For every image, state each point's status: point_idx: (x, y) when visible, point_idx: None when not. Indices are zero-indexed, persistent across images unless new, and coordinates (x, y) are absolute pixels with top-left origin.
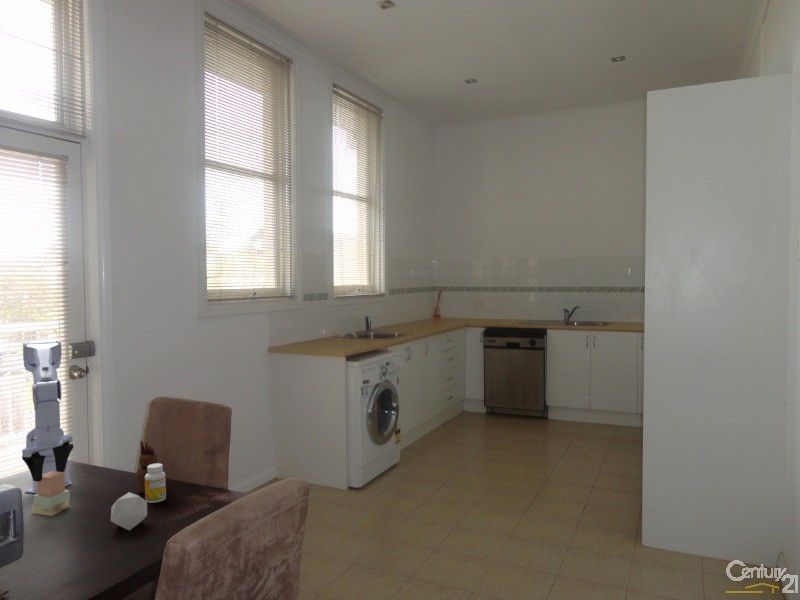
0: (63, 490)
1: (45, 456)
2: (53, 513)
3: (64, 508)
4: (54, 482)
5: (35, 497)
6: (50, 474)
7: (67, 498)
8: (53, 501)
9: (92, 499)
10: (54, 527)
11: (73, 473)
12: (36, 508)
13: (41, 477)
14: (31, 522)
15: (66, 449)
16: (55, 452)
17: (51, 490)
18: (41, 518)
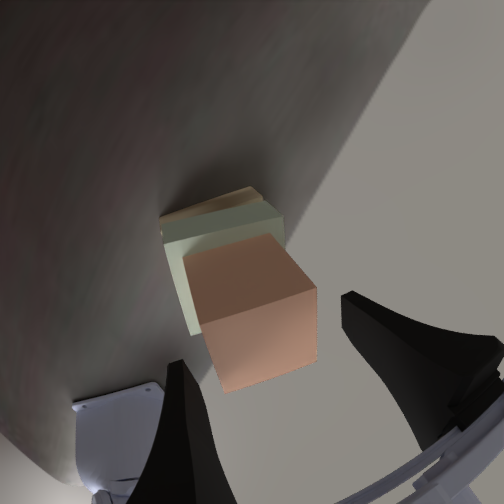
0: (191, 257)
1: (465, 375)
2: (242, 190)
3: (184, 209)
4: (266, 275)
5: None
6: (268, 347)
7: (174, 225)
8: (254, 211)
9: (59, 224)
10: (316, 65)
11: (56, 444)
12: None
13: (357, 301)
14: (319, 186)
15: (200, 501)
16: (229, 494)
17: (273, 248)
18: (283, 191)
